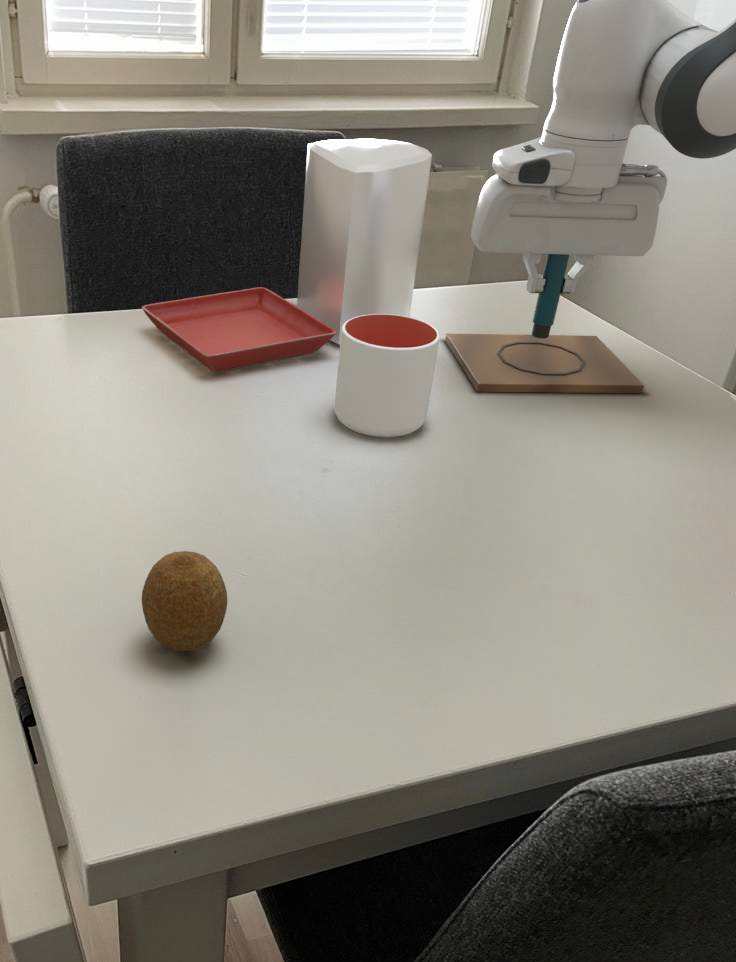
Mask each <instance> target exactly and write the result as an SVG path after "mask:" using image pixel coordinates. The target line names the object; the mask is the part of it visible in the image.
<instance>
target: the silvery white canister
mask: <svg viewBox="0 0 736 962" xmlns="http://www.w3.org/2000/svg"><path fill="white" fill-rule="evenodd" d="M306 151H307V152H306V153H307V154H306V166H305V180H304V181H305V182H304V197H303V211H302V212H303V213H302V224H301V240H300V252H299V253H300V256H299V269H298V272H299V273H298V282H297V297H296V298H297V299H296V306H297V307H298V308H300V309H301V310H303V311H305V312H307V313H308V314H310V315H311V316H313V317H314V318H316V319H318V320H319V321H321V322H323V323H324V324H326V325H327V326H329V327H331V328H332V329H334V330H335V331H336V334H335V335H334V336H333V337H332V338H331V339H330V340H329V341H331V342H333V343H335V344H336V345H340V342H341V332H342V326H343V324H344V323H345V322H346V321H348V320H349V319H352V318H354V317H358V316H362V315H369V314H391V315H400V316H406V317H411V309H412V302H413V296H414V295H413V294H414V289H415V288H414V287H415V281H416V274H417V273H416V272H417V265H418V259H419V253H420V252H419V251H420V244H421V237H422V229H423V224H424V223H423V222H424V215H425V209H426V200H427V194H428V187H429V179H430V171H431V166H432V159H433V154H432V153H431V152H430V151H429V150H428V149H427V148H425V147H422V146H419V145H417V144H413V143H412V142H406V141H400V140H392V139H390V140H389V139H379V138H378V139H377V138H354V139H352V138H351V139H327V140H320V141H315V142H310V143H307V150H306Z"/></svg>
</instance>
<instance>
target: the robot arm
mask: <svg viewBox="0 0 736 962" xmlns="http://www.w3.org/2000/svg"><path fill="white" fill-rule="evenodd" d="M552 93H553V94H552V95H553V96H552V98H553V99H552V103H551V107H550V110H549V113H548V115H547V117H546V119H545V120H544V124H543V129H542V133H541V136H539V137H537V138H534V139H531V140H528V141H526V142H522V143H519V144H515V145H511V146H508V147H505V148H501V149H499V150H497V151H496V152H495V153H494V154H493V158H492V163H491V164H492V166H491V167H492V170H493V171H494V173H495V174H494V175H492V176H491V177H489V179H487V180H486V182H485V184H484V185H483V187H482V189H481V191H480V194H479V197H478V200H477V204H476V208H475V210H474V216H473V220H472V225H471V230H470V238H471V241H472V242H473V244H474V246H475V247H476V248H477V249H478V250H479V251H480V252H481V253H486V254H487V253H489V254H490V253H492V254H493V253H494V254H522V255H523V256H522V260H523V264H524V266H525V268H526V272H527V274H528V276H527V281H526V291H527V293H529V294H539V293H543V290H544V288H543V286H544V285H545V281H546V279H545V277H543V273H538V269H537V266H536V264H540V263H541V261H542V256H543V255H547V254H564V255H569V256H573V259H574V260H575V261H576V262H575V263H574V265H573V266H572V267H571V269H569V271H568V273H567V274H565V276H564V281H563V285H562V289H561V294H560V295H574V294H575V293H576V289H577V284H578V281H579V280H580V279H581V278H582V277H583V275H584V274H585V273H586V272H587V271H588V270H589V268H590V267H591V266H592V263H593V260H594V256H602V257H603V256H604V257H605V256H606V257H607V256H608V257H610V256H611V257H613V256H614V257H644V256H645V255H646V254H647V253H648V252H649V251H650V250H651V249H652V247H653V245H654V241H655V237H656V232H657V228H658V227H657V226H658V219H659V213H660V205H661V203H662V202H663V200H664V197H665V193H666V190H667V186H668V178H667V175H666V173H665V172H664V171H663V170H662V169H659V166H658V165H656V164H655V165H654V164H645V165H640V164H634V163H623V162H624V160H625V156H626V155H625V154H626V151H627V147H628V142H629V138H630V135H631V131H632V130H633V128H635V127H637V126H639V125H640V126H649V127H651V129H653V130H654V131H655V132H657V133H659V134H660V135H661V136H662V137H664V138H665V140H666V141H667V143H669V144H670V145H671V147H672V148H673V149H674V150H676V151H677V152H678V153H680V154H682V155H683V156H686V157H689V158H694V159H699V160H700V159H701V160H703V159H704V160H705V159H713V158H716V157H721V156H724V155H726V154H728V153H730V152H732V151H735V150H736V18H735V19H734V20H733V21H732V22H731V23H730V24H728V25H727V26H726V27H724V28H722V29H721V30H719V31H717V30H715V29H713V28H710V27H708V26H705V25H703V24H702V23H700V22H699V21H697V20H695V19H693V18H692V17H690V16H689V15H687V14H686V13H684V12H682V11H681V10H680V9H679V8H677V7H676V6H675V5H674V4H673V3H671V1H669V0H577V1H576V2H575V4H574V6H573V8H572V10H571V12H570V15H569V18H568V21H567V24H566V27H565V30H564V33H563V37H562V40H561V44H560V49H559V53H558V55H557V61H556V65H555V71H554V74H553V80H552Z"/></svg>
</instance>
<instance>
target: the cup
mask: <svg viewBox="0 0 736 962" xmlns="http://www.w3.org/2000/svg"><path fill="white" fill-rule="evenodd" d="M440 338H441V336H440V333H439V331H438V330H437V328H435V327H434V326H433V325H431V324H429V323H427V322H425V321H423V320H420V319H417V318H414V317H411V316H409V317H406V316H400V315H391V314H369V315H362V316H358V317H354V318H352V319H349V320H348V321H346V322H345V323H344V324H343V326H342V332H341V342H340V344H339V354H338V362H337V363H338V364H337V375H336V384H335V394H334V403H333V407H334V408H333V409H334V413H335V416H336V418H337V419H338V421H339V422H340V423H341V424H342V425H344V426H345V427H346V428H348V429H350V430H352V431H353V432H355V433H359V434H362V435H366V436H371V437H375V438H376V437H378V438H395V437H396V438H397V437H402V436H406V435H409V434H413V433H414V432H416V431H417V430H419V429H420V428H421V427H422V426H423V425H424V423H425V422H426V420H427V417H428V413H429V407H430V400H431V394H432V388H433V382H434V376H435V369H436V364H437V357H438V351H439V344H440V340H441V339H440Z"/></svg>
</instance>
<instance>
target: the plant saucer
mask: <svg viewBox="0 0 736 962" xmlns="http://www.w3.org/2000/svg"><path fill="white" fill-rule="evenodd" d="M141 309H142V311H143V312H144V313H145V315H146V317H147V318H148V319H149V321H151V323H152V324H153V325H154V327H156V328H157V330H159V332H160V333H161V334H163V335H164V336H165V337H166V338H167V339H169V340H170V341H172V342H173V343H174V344H176V345H177V346H178V347H179V348H181V349H182V350H183V351H185V352H186V353H187V354H189V356H191V357H192V358H194V359H195V360H196V361H198V363H200V364H201V365H203V366H204V367H205V368H207V369H208V370H209V371H211V372H213V373H219V372H224V371H229V370H235V369H240V368H245V367H250V366H255V365H260V364H265V363H271V362H276V361H281V360H286V359H287V360H288V359H291V358H297V357H302V356H307V355H312V354H314V353H316V352H317V351H319V350H320V349H321V348H322V347H323V346H325V345H326V344H327V343H328V342H330V341H331V340H330V339H331V338H332V337H333V336H334V335H335V334H336V331H335V330H334V329H332V328H331V327H329V326H327V325H326V324H324V323H323V322H321V321H319V320H318V319H316V318H314V317H313V316H311V315H310V314H308V313H307V312H305V311H303V310H301V309H300V308H298V306H297V305H295V304H294V303H292V302H290V301H288V300H287V299H285V298H284V297H282V296H281V295H279V294H277V293H275V292H273V291H272V290H270V289H268V288H267V287H261V286H259V287H252V288H247V289H241V290H233V291H227V292H220V293H215V294H207V295H202V296H201V295H200V296H195V297H194V296H193V297H188V298H187V297H186V298H182V299H176V300H169V301H161V302H155V303H150V304H144V305H142V306H141Z"/></svg>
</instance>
